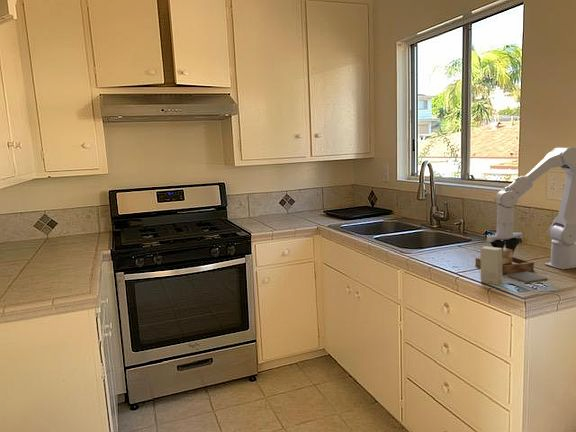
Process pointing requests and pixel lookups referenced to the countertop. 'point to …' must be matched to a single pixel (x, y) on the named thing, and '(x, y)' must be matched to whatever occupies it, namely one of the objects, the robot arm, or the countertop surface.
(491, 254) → the skincare box
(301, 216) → the countertop surface
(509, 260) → the maple block
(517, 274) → the mat
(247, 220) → the countertop surface
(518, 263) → the slot box
